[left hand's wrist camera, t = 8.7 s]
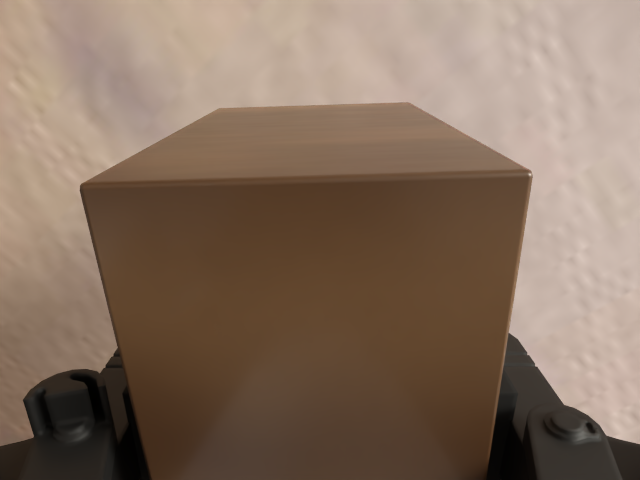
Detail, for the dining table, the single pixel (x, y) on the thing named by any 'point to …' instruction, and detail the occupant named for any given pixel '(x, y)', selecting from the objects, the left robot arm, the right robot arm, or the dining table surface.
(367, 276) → the bar
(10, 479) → the left robot arm
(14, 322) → the dining table surface
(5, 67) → the dining table surface
